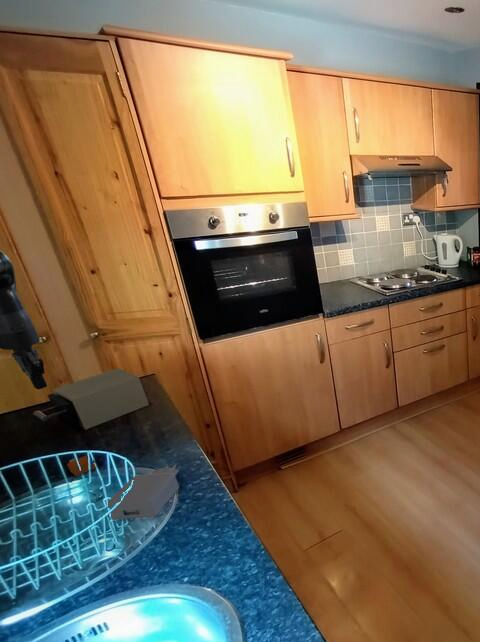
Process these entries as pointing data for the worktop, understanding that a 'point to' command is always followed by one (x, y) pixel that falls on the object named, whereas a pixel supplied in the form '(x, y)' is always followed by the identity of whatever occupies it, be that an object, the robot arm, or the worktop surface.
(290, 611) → the worktop surface
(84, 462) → the orange lobed block
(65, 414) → the dark drawer with handle
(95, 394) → the grey sloped box
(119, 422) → the worktop surface
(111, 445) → the worktop surface
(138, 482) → the charger
